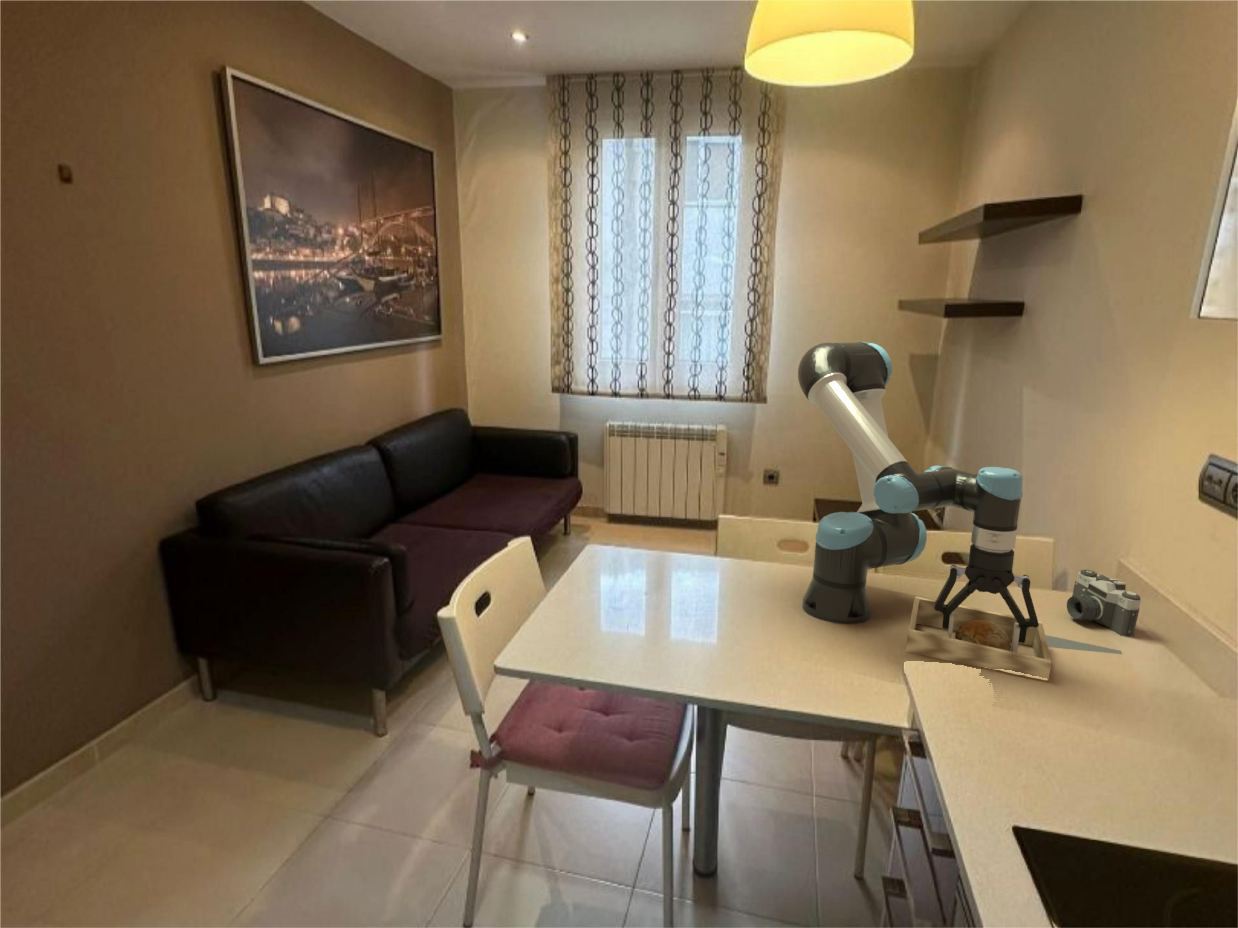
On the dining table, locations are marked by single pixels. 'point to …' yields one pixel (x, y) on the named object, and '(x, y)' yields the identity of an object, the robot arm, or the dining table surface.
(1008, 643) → the bread roll
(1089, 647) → the mat
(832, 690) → the dining table surface
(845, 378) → the robot arm
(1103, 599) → the camera
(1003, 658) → the crate
